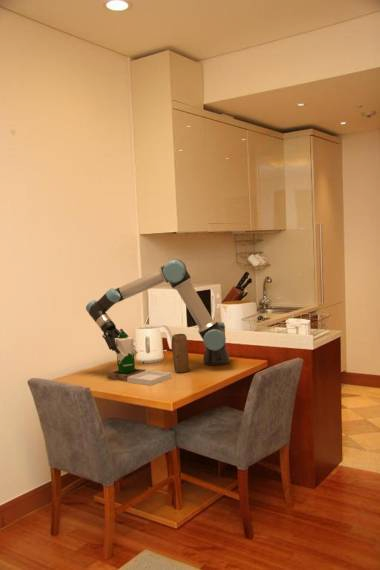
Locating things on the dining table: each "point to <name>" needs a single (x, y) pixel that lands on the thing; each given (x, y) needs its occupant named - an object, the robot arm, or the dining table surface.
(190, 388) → the dining table surface
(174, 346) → the block
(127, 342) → the soya milk
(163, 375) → the tray
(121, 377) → the dark brown square tray
